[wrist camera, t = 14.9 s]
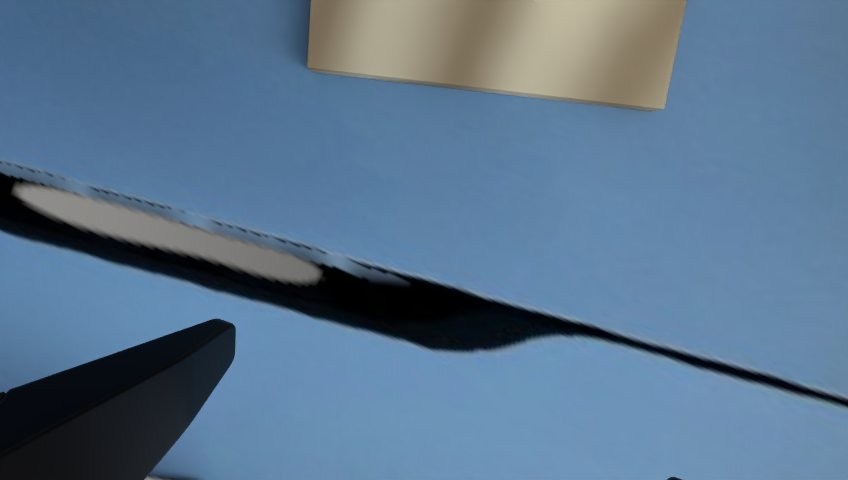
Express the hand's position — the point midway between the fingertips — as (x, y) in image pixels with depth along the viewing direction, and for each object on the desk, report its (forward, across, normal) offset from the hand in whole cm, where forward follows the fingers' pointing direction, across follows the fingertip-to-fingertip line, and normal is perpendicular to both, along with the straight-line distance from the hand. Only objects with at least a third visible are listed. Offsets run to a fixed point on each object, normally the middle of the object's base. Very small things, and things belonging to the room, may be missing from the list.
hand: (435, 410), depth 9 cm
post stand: (+14, +3, -11) cm, 18 cm away
